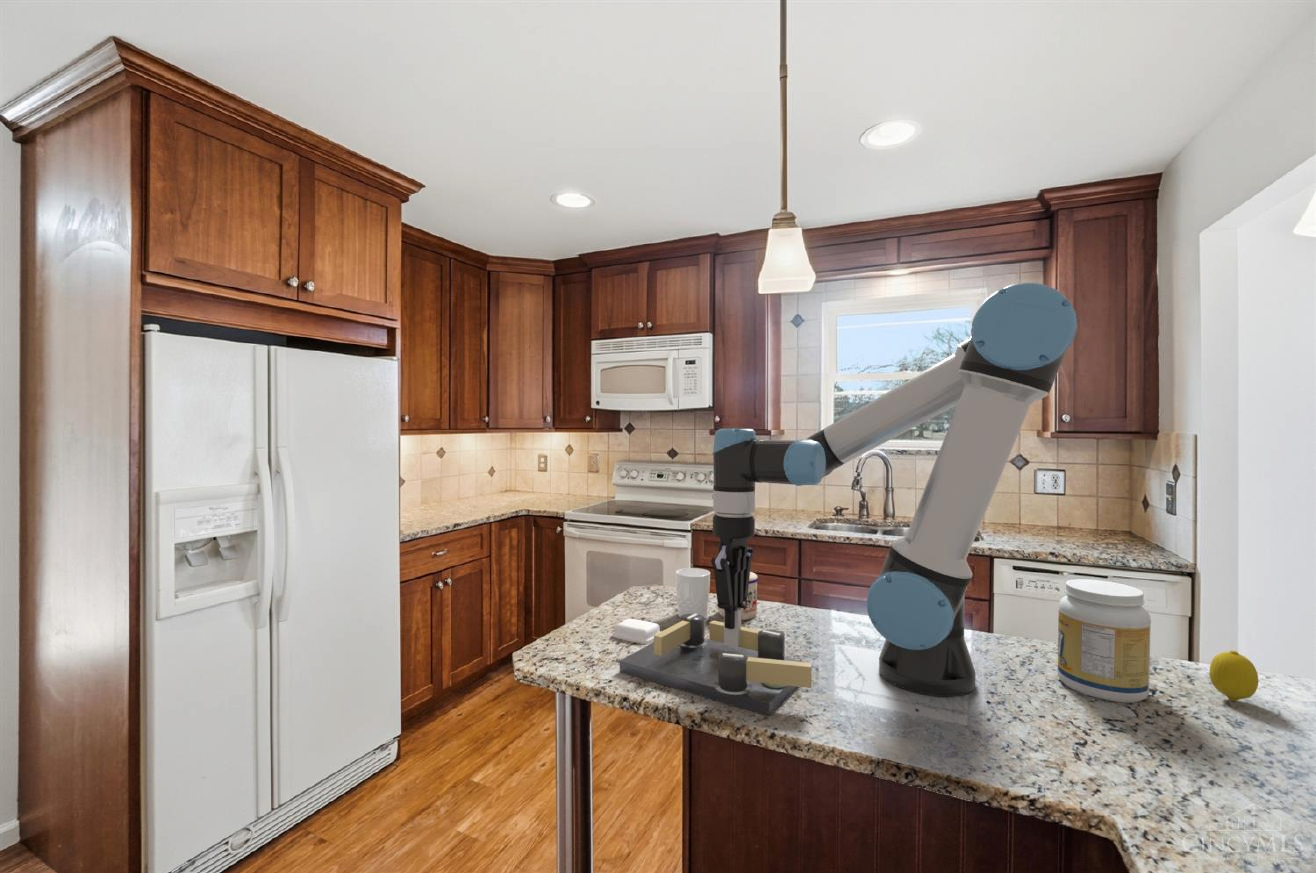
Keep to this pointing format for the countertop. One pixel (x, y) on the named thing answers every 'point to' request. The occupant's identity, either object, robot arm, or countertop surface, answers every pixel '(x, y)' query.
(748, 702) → the dark grey knob panel
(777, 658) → the knob
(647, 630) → the soap
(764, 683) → the green domed button
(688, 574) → the white cup
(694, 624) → the knob
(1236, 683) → the lemon
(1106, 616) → the supplement tub
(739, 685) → the knob
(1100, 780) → the countertop surface
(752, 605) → the teacup with lid
